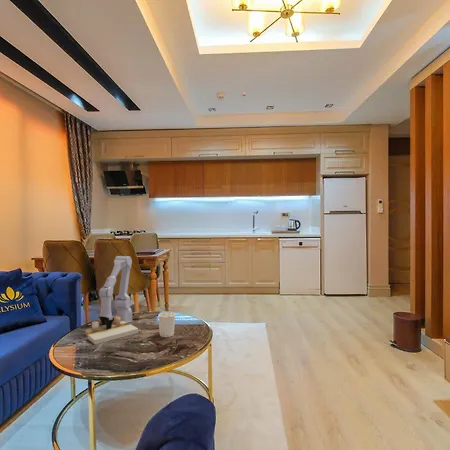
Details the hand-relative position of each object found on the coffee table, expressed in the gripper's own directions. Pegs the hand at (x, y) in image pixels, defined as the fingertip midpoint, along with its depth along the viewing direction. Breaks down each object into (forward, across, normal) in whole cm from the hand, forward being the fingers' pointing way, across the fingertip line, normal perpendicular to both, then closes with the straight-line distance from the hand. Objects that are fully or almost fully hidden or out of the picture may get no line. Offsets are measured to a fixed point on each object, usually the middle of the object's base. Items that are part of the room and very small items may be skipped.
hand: (106, 328), depth 195 cm
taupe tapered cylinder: (-2, 0, -7) cm, 7 cm away
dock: (+1, +11, 0) cm, 11 cm away
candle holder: (+2, +31, +24) cm, 39 cm away
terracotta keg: (-2, 0, +7) cm, 7 cm away
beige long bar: (+2, 0, 0) cm, 2 cm away
